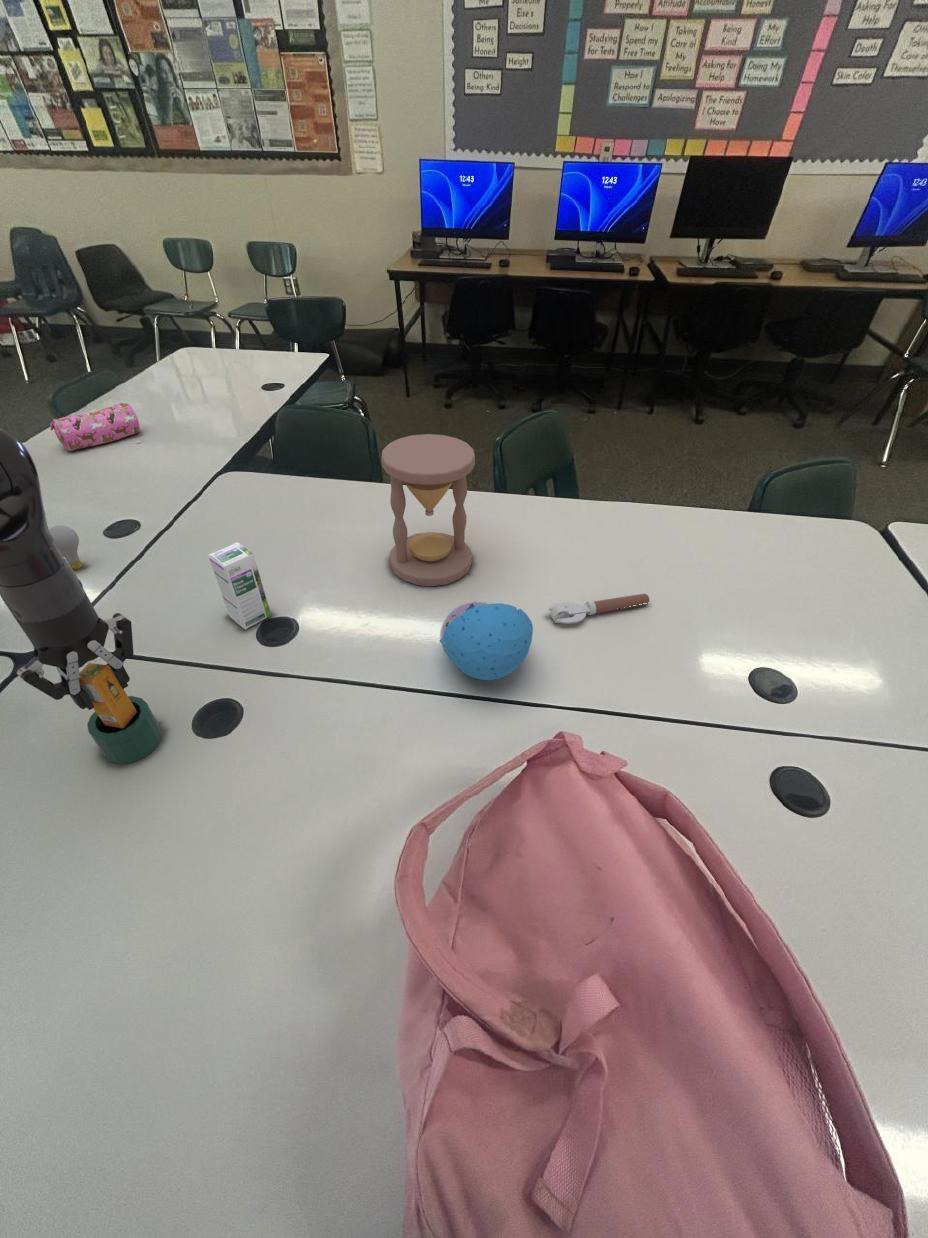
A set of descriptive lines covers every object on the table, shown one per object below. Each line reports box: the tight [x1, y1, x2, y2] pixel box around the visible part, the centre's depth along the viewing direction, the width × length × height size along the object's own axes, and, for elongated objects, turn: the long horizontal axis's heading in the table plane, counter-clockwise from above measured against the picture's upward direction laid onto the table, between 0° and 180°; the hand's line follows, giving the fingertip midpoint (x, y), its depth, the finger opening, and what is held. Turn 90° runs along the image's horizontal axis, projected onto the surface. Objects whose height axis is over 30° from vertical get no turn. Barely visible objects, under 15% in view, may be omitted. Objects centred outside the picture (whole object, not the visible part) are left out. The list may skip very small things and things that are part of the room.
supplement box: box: [79, 662, 137, 728], centre depth 78 cm, size 3×3×10 cm
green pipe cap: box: [87, 695, 162, 765], centre depth 83 cm, size 8×8×6 cm
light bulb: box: [48, 524, 83, 570], centre depth 114 cm, size 5×6×10 cm
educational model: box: [439, 601, 534, 681], centre depth 94 cm, size 16×19×15 cm
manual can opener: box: [548, 593, 650, 625], centre depth 109 cm, size 20×6×3 cm, turn 112°
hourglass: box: [381, 433, 476, 587], centre depth 113 cm, size 18×18×25 cm
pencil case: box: [50, 402, 141, 452], centre depth 162 cm, size 21×9×9 cm, turn 137°
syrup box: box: [207, 541, 272, 630], centre depth 102 cm, size 6×6×14 cm
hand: (105, 695), depth 78 cm, fingers closed on supplement box, 4 cm apart
